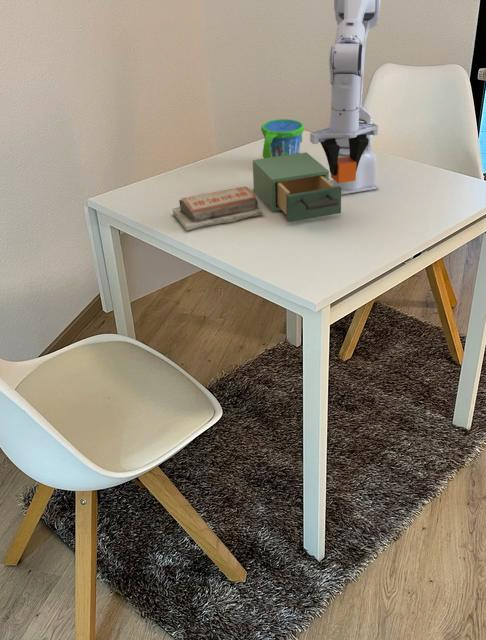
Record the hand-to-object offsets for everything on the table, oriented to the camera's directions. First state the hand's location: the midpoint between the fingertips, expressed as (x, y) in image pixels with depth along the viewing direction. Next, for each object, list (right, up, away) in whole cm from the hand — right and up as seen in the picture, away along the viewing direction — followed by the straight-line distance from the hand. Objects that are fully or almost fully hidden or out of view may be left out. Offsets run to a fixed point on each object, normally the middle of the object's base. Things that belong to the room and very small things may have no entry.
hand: (343, 172), depth 154 cm
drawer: (-7, -7, +7) cm, 12 cm away
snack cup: (-12, +11, +35) cm, 38 cm away
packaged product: (-27, -8, +9) cm, 30 cm away
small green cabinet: (-11, -1, +17) cm, 20 cm away
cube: (0, -1, +1) cm, 1 cm away
